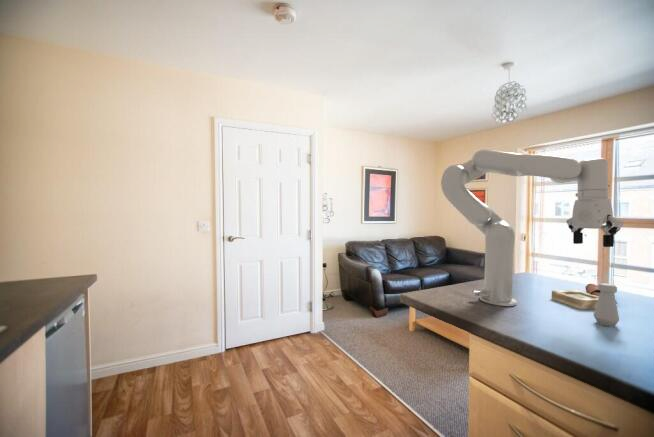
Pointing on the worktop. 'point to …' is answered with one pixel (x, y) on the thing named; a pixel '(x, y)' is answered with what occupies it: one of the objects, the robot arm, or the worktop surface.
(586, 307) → the square wooden tray
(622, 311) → the worktop surface
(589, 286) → the sunglasses case
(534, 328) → the worktop surface
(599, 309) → the salt shaker
